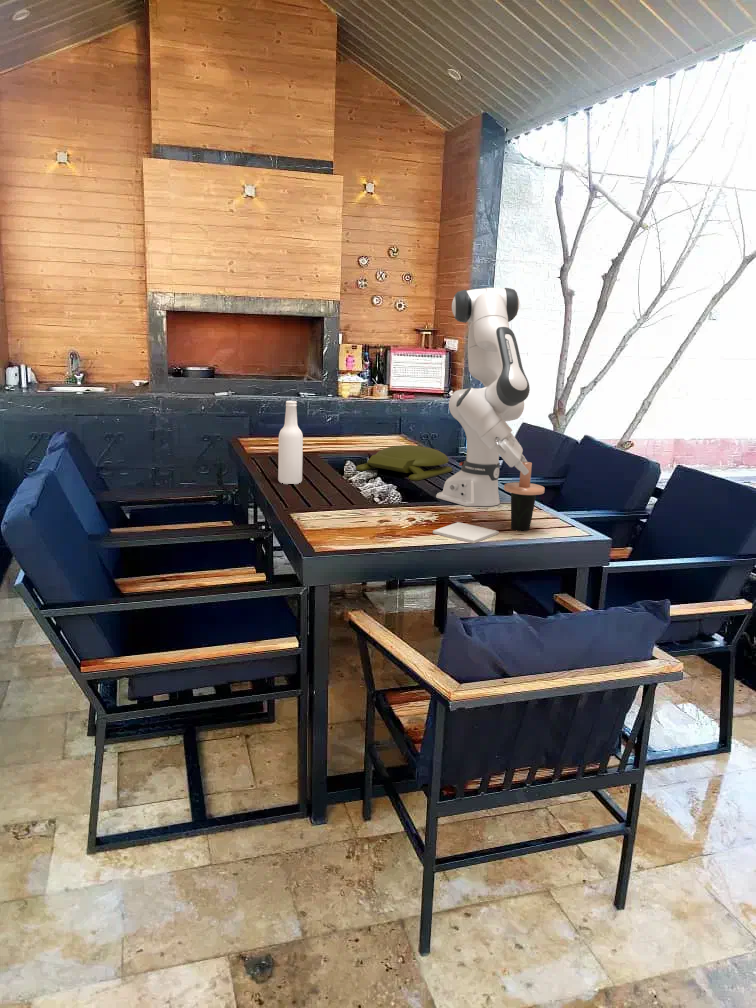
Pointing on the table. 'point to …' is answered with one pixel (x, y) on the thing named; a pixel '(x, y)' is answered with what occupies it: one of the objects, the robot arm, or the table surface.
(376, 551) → the table surface
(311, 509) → the table surface
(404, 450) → the green turtle
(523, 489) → the lid
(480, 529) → the mat
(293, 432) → the alcohol
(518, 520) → the cup
